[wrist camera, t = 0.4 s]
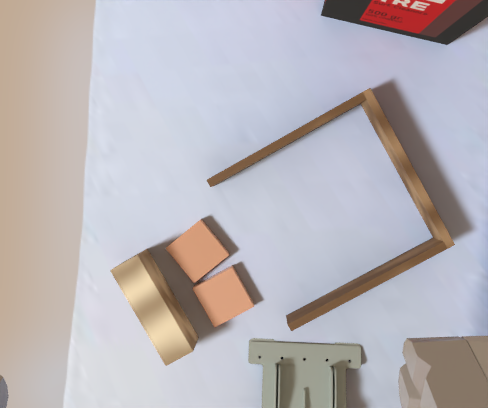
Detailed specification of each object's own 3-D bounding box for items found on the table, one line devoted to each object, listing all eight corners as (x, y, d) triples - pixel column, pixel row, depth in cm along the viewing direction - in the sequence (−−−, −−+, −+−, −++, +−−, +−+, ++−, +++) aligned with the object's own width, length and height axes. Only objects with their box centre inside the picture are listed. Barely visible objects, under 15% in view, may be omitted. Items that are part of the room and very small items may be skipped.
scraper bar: (198, 336, 62) (193, 351, 57) (173, 350, 62) (165, 366, 57) (147, 248, 62) (137, 255, 57) (122, 262, 62) (110, 270, 57)
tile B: (230, 252, 61) (229, 255, 60) (196, 279, 62) (194, 283, 60) (202, 218, 61) (200, 219, 59) (168, 246, 62) (165, 248, 60)
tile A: (254, 302, 62) (253, 306, 60) (215, 323, 62) (214, 327, 60) (232, 264, 61) (231, 267, 60) (194, 285, 62) (192, 288, 60)
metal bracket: (365, 456, 56) (245, 450, 57) (355, 442, 62) (246, 436, 63) (363, 336, 59) (249, 332, 60) (354, 334, 65) (250, 329, 66)
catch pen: (443, 240, 59) (454, 244, 56) (289, 322, 61) (291, 331, 58) (363, 92, 59) (370, 87, 55) (209, 179, 60) (206, 180, 57)
